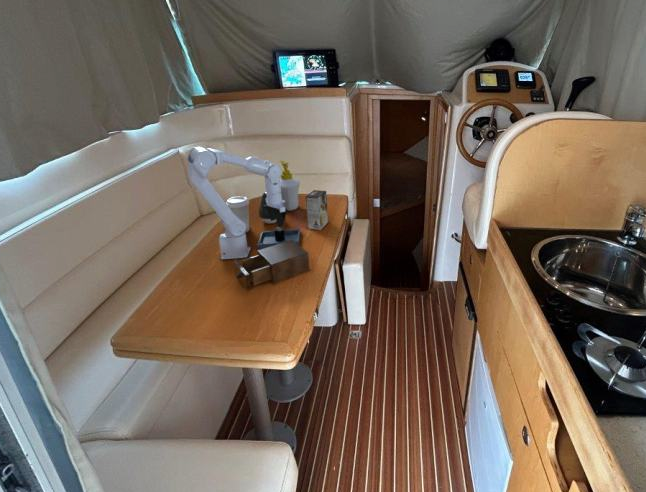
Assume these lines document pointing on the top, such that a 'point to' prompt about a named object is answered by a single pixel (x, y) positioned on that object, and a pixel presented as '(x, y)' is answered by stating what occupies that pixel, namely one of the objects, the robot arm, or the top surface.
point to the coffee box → (317, 209)
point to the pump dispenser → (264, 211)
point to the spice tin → (279, 234)
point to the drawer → (253, 271)
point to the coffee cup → (240, 209)
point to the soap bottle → (289, 188)
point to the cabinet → (285, 260)
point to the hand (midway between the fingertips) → (277, 222)
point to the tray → (269, 240)
